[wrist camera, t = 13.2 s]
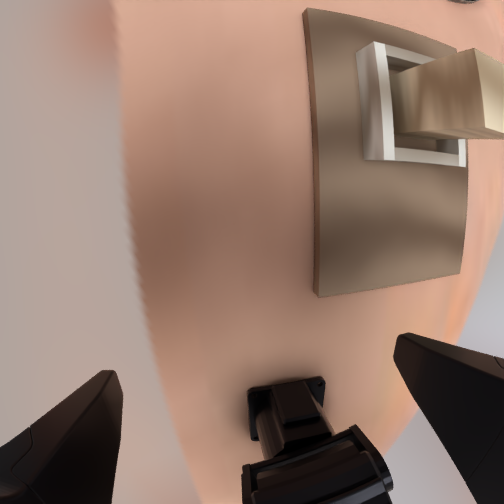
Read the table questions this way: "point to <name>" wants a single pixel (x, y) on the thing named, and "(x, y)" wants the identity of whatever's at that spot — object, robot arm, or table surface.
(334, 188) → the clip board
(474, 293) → the table surface
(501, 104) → the peg
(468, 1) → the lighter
